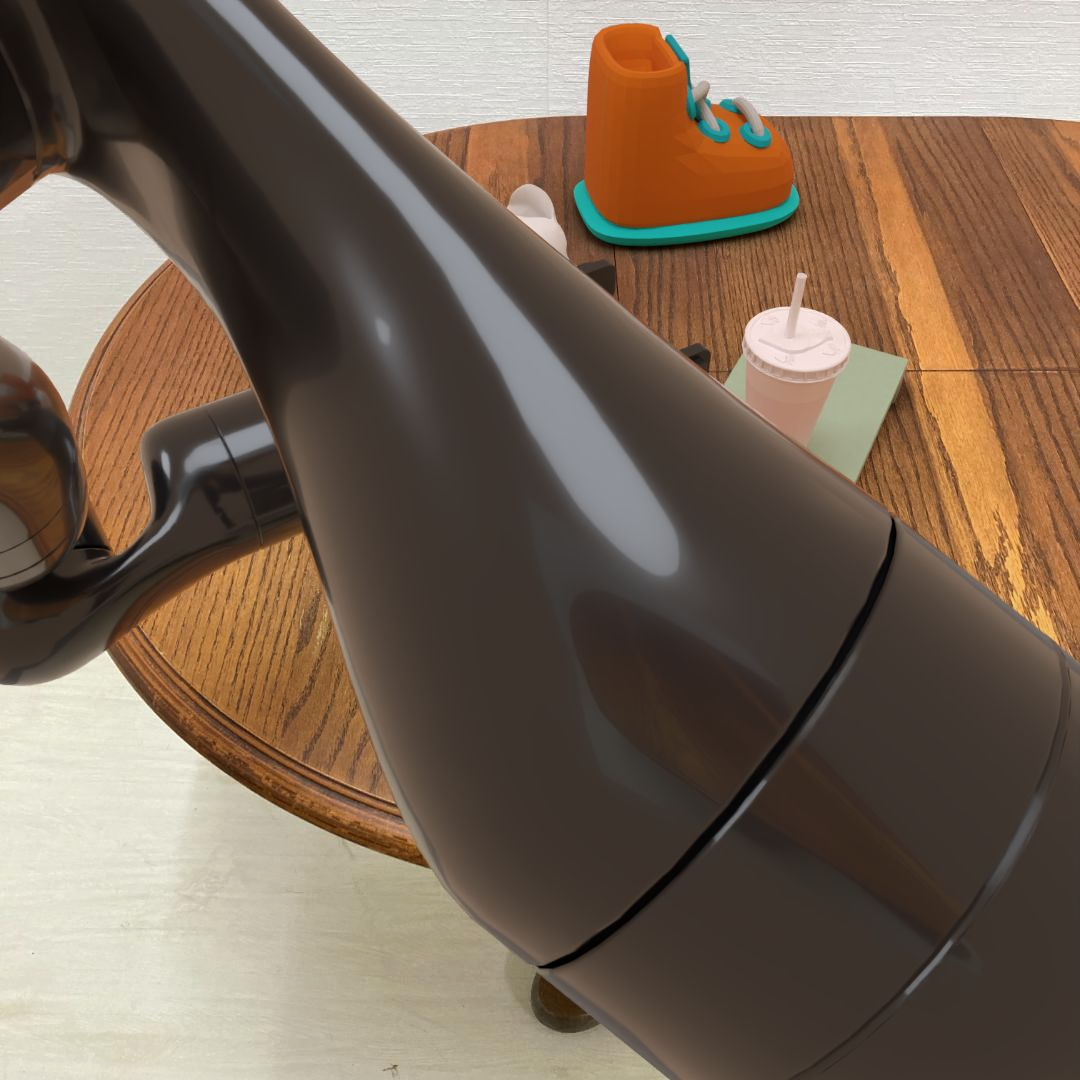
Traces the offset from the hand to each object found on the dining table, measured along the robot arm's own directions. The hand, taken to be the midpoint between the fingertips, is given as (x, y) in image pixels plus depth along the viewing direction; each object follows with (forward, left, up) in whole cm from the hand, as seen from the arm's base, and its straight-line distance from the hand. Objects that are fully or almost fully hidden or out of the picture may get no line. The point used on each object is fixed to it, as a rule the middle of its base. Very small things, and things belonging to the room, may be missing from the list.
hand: (656, 317), depth 58 cm
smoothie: (0, -11, -16) cm, 19 cm away
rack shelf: (+3, -15, -18) cm, 24 cm away
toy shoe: (+31, -27, -19) cm, 45 cm away
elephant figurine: (+26, -6, -19) cm, 32 cm away
